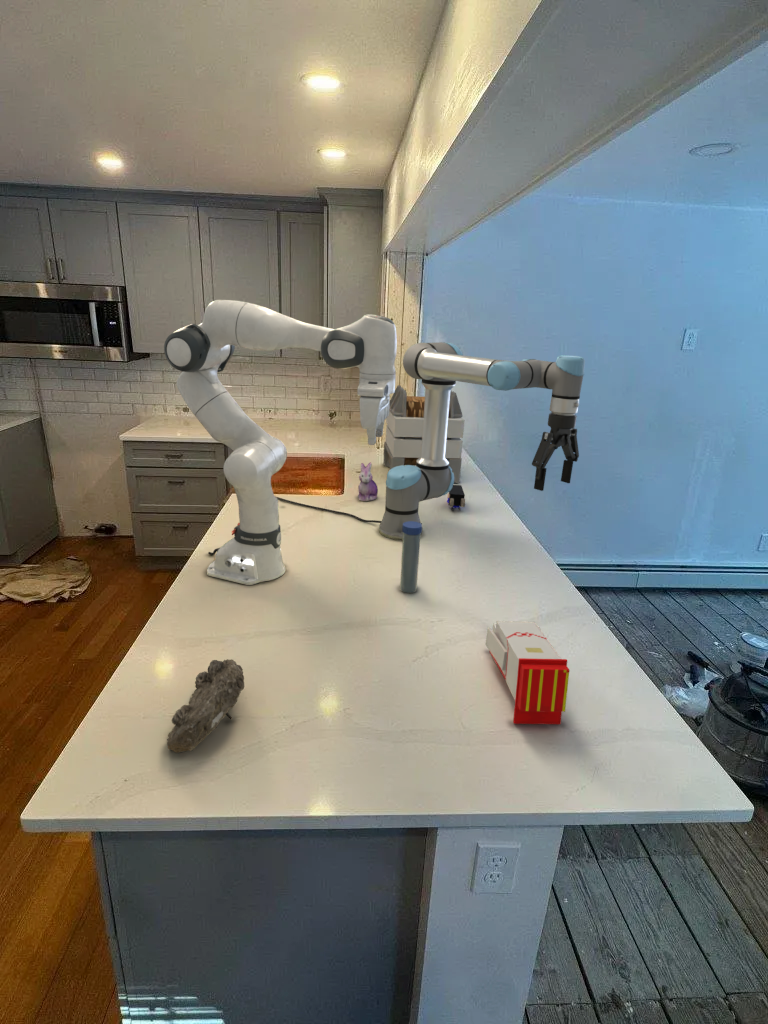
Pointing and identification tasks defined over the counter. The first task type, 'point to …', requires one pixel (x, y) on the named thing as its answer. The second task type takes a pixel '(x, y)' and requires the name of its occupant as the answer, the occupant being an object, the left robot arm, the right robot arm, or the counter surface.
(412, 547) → the grey long cylinder
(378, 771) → the counter surface
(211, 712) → the fossil
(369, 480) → the figurine
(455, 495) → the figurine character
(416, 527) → the lid
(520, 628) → the toy
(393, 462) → the transformer
